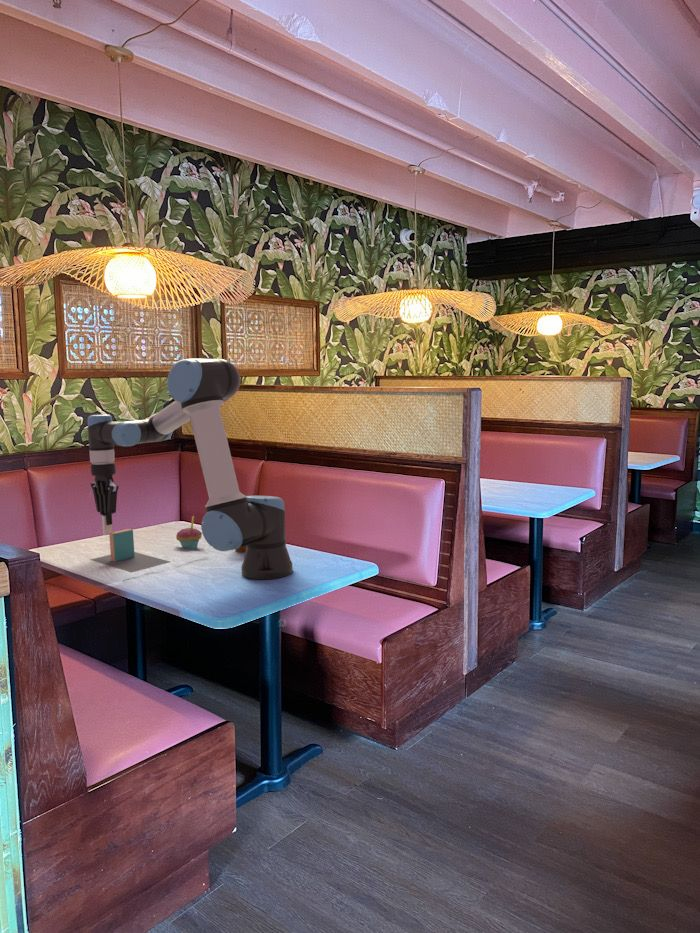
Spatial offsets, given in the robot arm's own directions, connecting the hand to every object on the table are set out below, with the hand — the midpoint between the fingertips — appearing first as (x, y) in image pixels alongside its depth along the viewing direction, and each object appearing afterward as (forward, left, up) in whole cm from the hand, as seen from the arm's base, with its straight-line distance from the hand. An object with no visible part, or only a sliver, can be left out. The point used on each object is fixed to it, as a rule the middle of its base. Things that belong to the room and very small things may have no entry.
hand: (107, 534), depth 225 cm
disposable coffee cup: (-29, -33, -8) cm, 45 cm away
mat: (-12, 0, -8) cm, 14 cm away
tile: (-8, 0, -7) cm, 11 cm away
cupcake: (-12, -23, -8) cm, 27 cm away
